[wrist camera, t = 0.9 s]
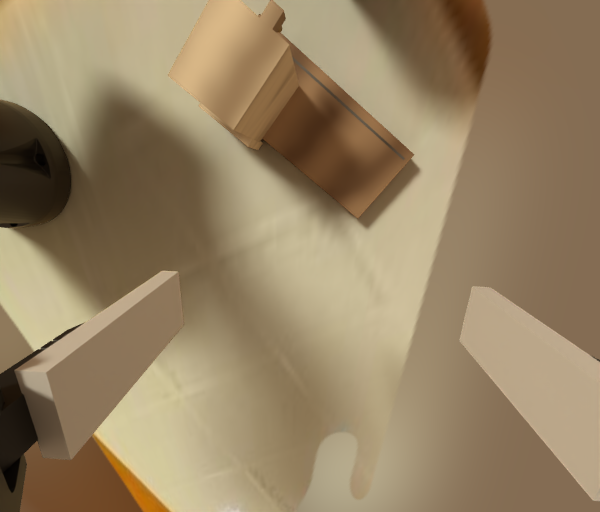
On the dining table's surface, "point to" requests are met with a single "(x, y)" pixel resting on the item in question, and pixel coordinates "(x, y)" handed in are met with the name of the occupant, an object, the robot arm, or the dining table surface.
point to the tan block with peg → (238, 67)
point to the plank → (335, 139)
